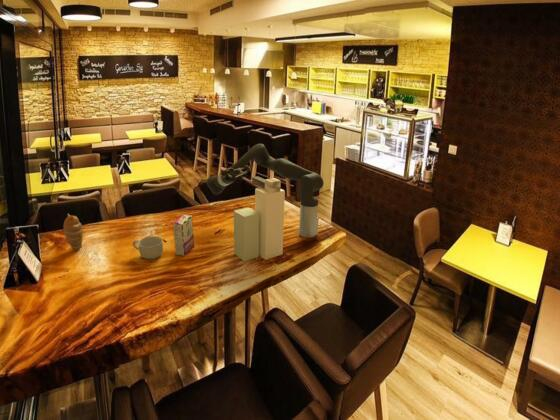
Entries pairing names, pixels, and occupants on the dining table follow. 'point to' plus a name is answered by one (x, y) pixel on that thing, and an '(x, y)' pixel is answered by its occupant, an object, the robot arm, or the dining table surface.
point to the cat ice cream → (73, 232)
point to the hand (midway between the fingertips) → (240, 168)
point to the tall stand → (270, 222)
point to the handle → (267, 184)
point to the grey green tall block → (246, 233)
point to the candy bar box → (183, 235)
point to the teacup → (149, 247)
